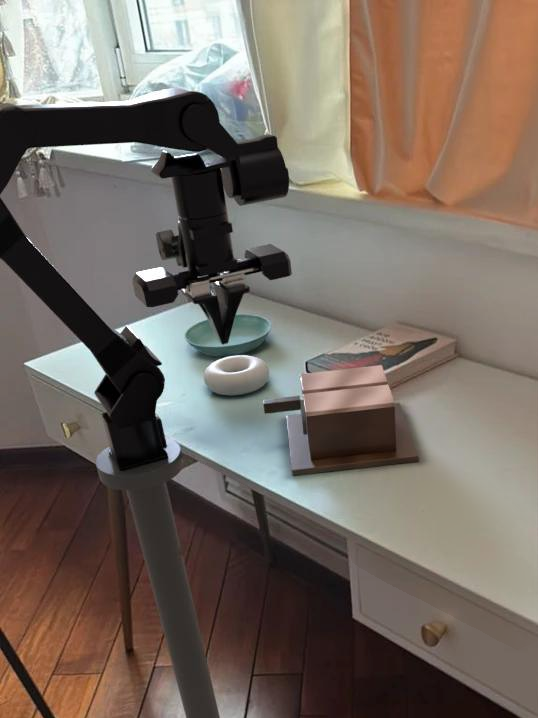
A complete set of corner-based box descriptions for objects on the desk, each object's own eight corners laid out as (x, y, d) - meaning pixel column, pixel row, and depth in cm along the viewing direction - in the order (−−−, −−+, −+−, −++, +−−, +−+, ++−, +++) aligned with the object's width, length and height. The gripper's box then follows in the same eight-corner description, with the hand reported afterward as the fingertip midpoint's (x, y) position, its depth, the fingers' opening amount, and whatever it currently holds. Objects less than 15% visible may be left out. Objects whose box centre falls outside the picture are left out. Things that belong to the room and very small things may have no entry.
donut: (240, 368, 136) (192, 389, 130) (238, 347, 134) (188, 367, 128) (284, 382, 130) (235, 404, 124) (281, 360, 128) (231, 382, 122)
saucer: (178, 339, 148) (175, 324, 146) (259, 323, 151) (257, 308, 150) (198, 368, 137) (195, 352, 135) (284, 349, 140) (283, 334, 139)
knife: (268, 440, 111) (263, 403, 108) (268, 436, 112) (263, 399, 109) (389, 427, 112) (387, 390, 108) (387, 422, 113) (385, 385, 110)
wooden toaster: (292, 475, 106) (285, 421, 102) (287, 420, 119) (280, 370, 115) (418, 461, 107) (417, 407, 102) (400, 407, 119) (398, 357, 115)
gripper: (251, 187, 108) (267, 310, 117) (107, 214, 102) (136, 341, 112) (285, 203, 100) (299, 333, 109) (132, 233, 94) (160, 368, 104)
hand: (223, 343), depth 109 cm, fingers closed
